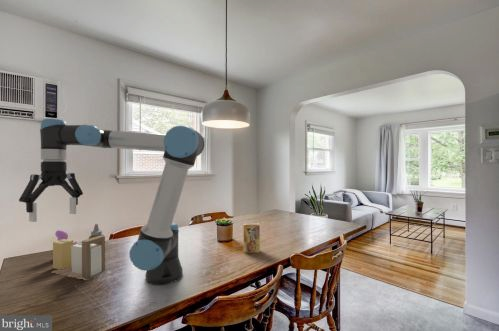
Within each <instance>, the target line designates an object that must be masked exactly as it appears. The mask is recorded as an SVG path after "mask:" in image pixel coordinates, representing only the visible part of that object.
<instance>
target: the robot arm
mask: <svg viewBox="0 0 499 331" xmlns="http://www.w3.org/2000/svg"><path fill="white" fill-rule="evenodd" d="M40 121H41V122H40V128H39V132H40V160H41V162H40V172H41V174H35V173H33V174H31V175H30V177H29V182H28V183H27V185H26V186H25V189H24V190H23V192H22V193H21V195H20V197H19V199H18V201H19V202H20V203H24V204H25V207H26V213H28V221H29V222H33V223H35V222H37V217H38V216H37V215H38V214H37V213H38V212H37V211H38V209H37V205H38V204H37V202H35V201H36V200H37V199H38V198H39V197H40V196H41V195H42V193H43V192H44V191H45V190H46V189H47V188H49V187H54V186H61V187H62V188H63V189H64V190H65V191H66V192H67V193H68V194H69V195H70V196H71V197H69V214H71V215H76V214H77V206H78V205H79V198H80V197H81V196H83V194H84V192H83V191H82V188H81V187H80V185H79V183H78V181H77V179H76V176H75V172H69V173H67V169H68V168H67V166H68V164H67V162H66V161H67V159H68V156H67V146H84V147H95V148H100V149H101V148H102V149H121V150H132V151H133V150H134V151H135V150H136V151H151V152H163V156H162V159H163V160H164V162H165V164H164V167H163V170H162V174H161V177H160V181H159V184H158V187H157V189H156V190H157V191H156V193H155V197H154V200H153V203H152V206H151V210H150V213H149V216H148V220H147V223H146V224H144V225H143V226H141V228H140V231H139V234H138V238H137V241H135V242H134V243H133V244H132V246H131V247H130V250H129V260H130V262H131V263H132V265H134V267H135V268H137V269H139V270H141V271H145V281H146V283H148V284H149V285H156V286H157V285H158V286H160V285H162V286H163V285H167V284H171V283H173V282H176V281H178V280H179V279H181V278H182V277H183V272H184V271H183V266H182V265H181V264H182V262H181V260H180V257H179V225H178V223H176V222H173V221H174V218H175V215H176V211H177V208H178V206H179V205H178V204H179V202H180V198H181V195H182V191H183V189H184V185H185V182H186V179H187V175H188V172H189V170H190V169H191V168H193V167H194V166H195V162H196V161H197V157H198V156H200V155H202V153H203V151H204V148H205V139H204V137H203V136H202V134H201V133H200V132H198V131H197V130H196V129H194V128H193V127H190V126H187V125H185V124H184V125H183V124H182V125H180V124H179V125H175V126H173V127H171V128H170V129H168V130H167V132H166V133H155V132H154V133H151V132H139V131H138V132H137V131H125V130H124V131H123V130H109V129H100V128H98V126H96V125H91V124H73V125H72V124H67V122H66V120H63V119H59V118H58V119H57V118H42V120H40ZM66 179H67V180H68V181H69V183H68V181H67V180H66ZM40 180H41V182H39V181H40ZM38 182H39V184H38ZM37 185H38V186H37ZM36 186H37V187H36Z"/></svg>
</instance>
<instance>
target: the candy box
mask: <svg viewBox="0 0 499 331" xmlns="http://www.w3.org/2000/svg"><path fill="white" fill-rule="evenodd" d="M260 228H261V227H260V223H259V222H257V223H249V222H248V223H243V253H260V244H261V242H260V236H261V234H260V233H261V232H260V231H261V229H260Z"/></svg>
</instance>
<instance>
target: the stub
mask: <svg viewBox="0 0 499 331" xmlns="http://www.w3.org/2000/svg"><path fill="white" fill-rule="evenodd" d="M73 242H74V240H73V239H62V240H59V241H58V240H56V241H53V242H52V259H53V260H52V268H53V269H60V270H63V269H66V268H68V267H71V246H72V245H73Z"/></svg>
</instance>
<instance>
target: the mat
mask: <svg viewBox="0 0 499 331" xmlns="http://www.w3.org/2000/svg"><path fill="white" fill-rule="evenodd" d="M111 270H112V268H108V267H105V270H104V271H102V272H100V273H98V274H96V275H93V276H91V277H89V278H85V279H87V280H88V281H91V280H92V279H94V278H96V277H98V276H100V275H102V274H105V273H107V272H109V271H111Z"/></svg>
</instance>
